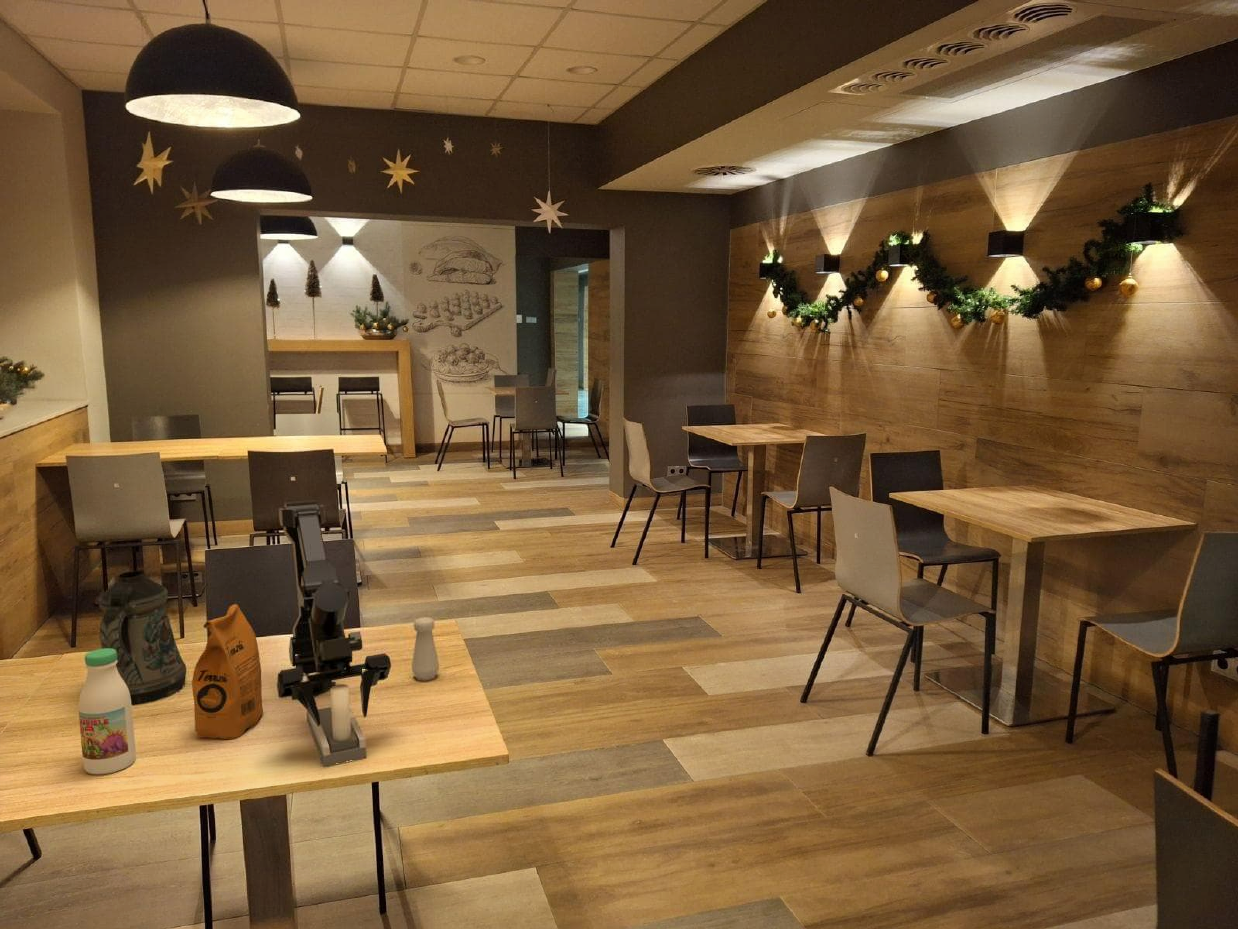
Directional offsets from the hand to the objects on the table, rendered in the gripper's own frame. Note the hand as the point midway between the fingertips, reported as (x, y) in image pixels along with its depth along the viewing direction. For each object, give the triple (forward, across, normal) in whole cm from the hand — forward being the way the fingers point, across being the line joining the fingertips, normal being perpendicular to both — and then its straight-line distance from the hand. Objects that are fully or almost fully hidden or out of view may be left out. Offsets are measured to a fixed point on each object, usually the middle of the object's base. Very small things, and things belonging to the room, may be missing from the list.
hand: (342, 720), depth 147 cm
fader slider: (+3, 0, +5) cm, 5 cm away
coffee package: (-12, -17, +22) cm, 30 cm away
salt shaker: (-16, +22, +26) cm, 38 cm away
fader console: (-1, 0, +11) cm, 11 cm away
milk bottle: (-7, -36, +17) cm, 40 cm away
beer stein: (-30, -31, +40) cm, 59 cm away
